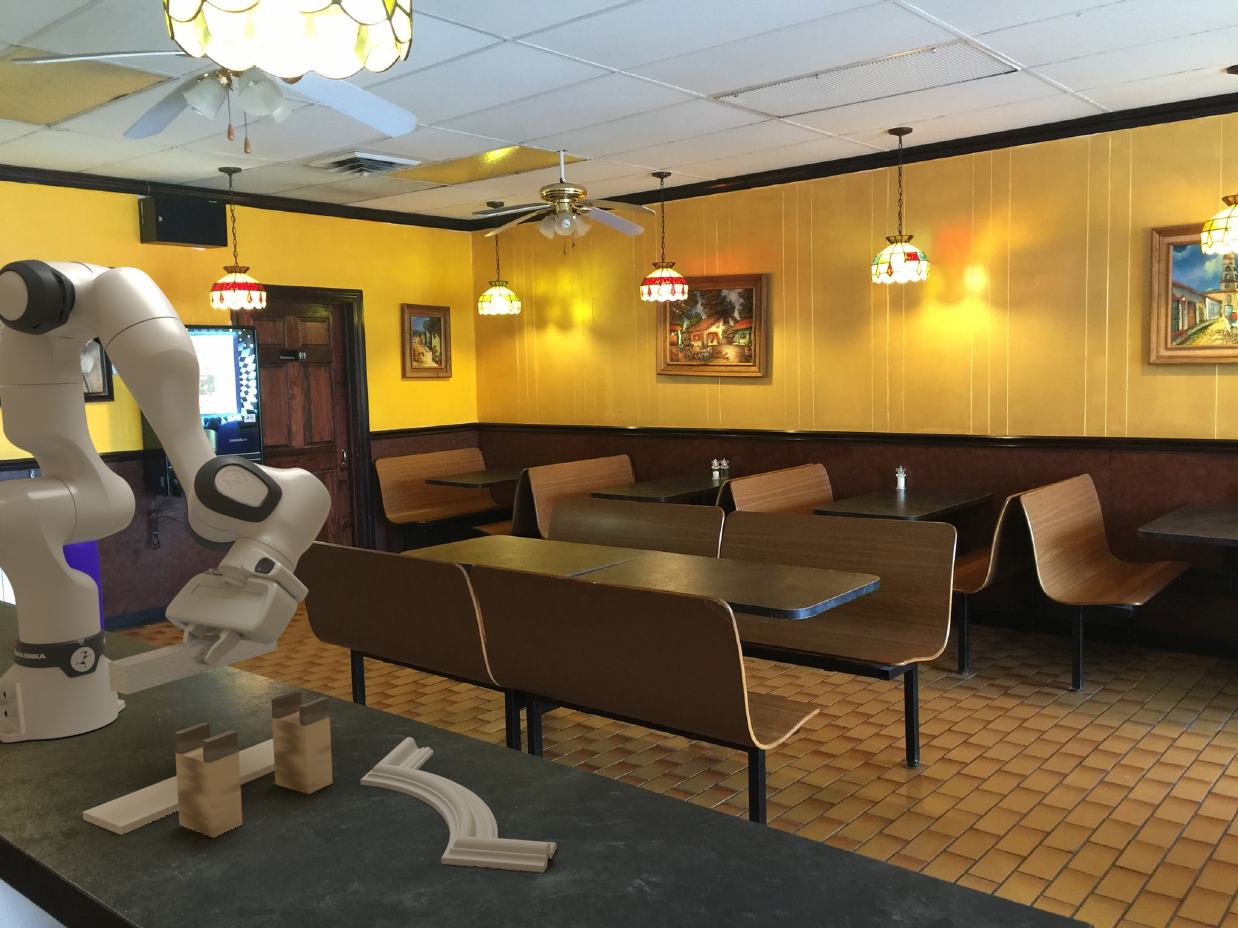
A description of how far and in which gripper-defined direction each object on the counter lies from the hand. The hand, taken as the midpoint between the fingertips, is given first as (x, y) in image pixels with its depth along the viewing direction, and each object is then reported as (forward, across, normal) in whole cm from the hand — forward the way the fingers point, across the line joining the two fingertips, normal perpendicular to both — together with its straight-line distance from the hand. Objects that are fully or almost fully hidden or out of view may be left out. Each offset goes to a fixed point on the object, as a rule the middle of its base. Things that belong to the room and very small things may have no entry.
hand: (194, 661), depth 129 cm
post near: (+17, +11, +7) cm, 21 cm away
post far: (+7, +11, +17) cm, 22 cm away
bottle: (-8, -76, +31) cm, 83 cm away
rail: (0, 0, +1) cm, 1 cm away
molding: (+3, +33, +22) cm, 40 cm away
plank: (+12, 0, +12) cm, 17 cm away
